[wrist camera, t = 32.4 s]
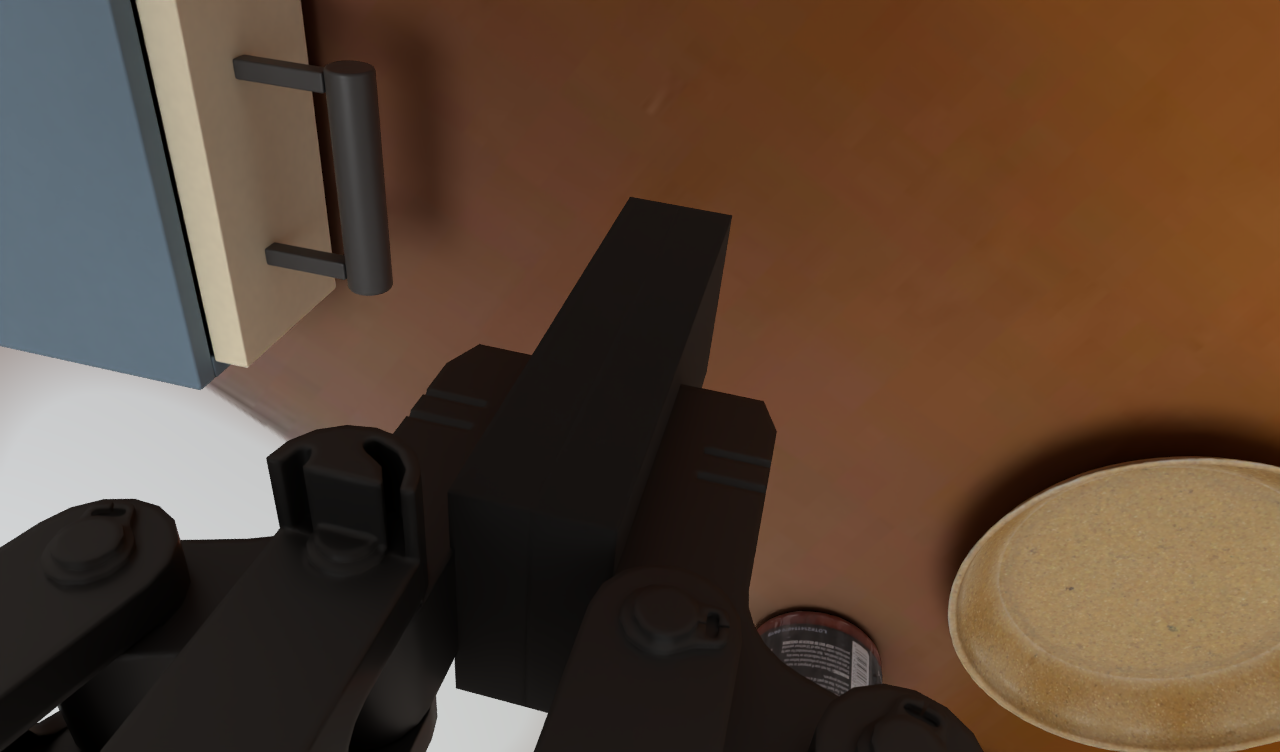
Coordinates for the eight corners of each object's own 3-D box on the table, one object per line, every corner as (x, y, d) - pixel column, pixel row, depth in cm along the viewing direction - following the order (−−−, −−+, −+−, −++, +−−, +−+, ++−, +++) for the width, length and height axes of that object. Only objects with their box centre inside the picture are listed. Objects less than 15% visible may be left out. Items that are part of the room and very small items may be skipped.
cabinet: (270, -103, 28) (90, -71, 21) (321, 285, 35) (201, 391, 29) (-106, -152, 30) (-370, -136, 23) (20, 225, 37) (-153, 313, 31)
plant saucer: (1476, 612, 31) (1519, 672, 29) (1088, 744, 39) (1100, 799, 37) (1239, 332, 28) (1268, 378, 26) (866, 538, 36) (865, 585, 34)
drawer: (422, -54, 26) (321, -20, 22) (440, 308, 33) (366, 394, 29) (-63, -121, 29) (-250, -103, 24) (48, 230, 36) (-79, 298, 31)
